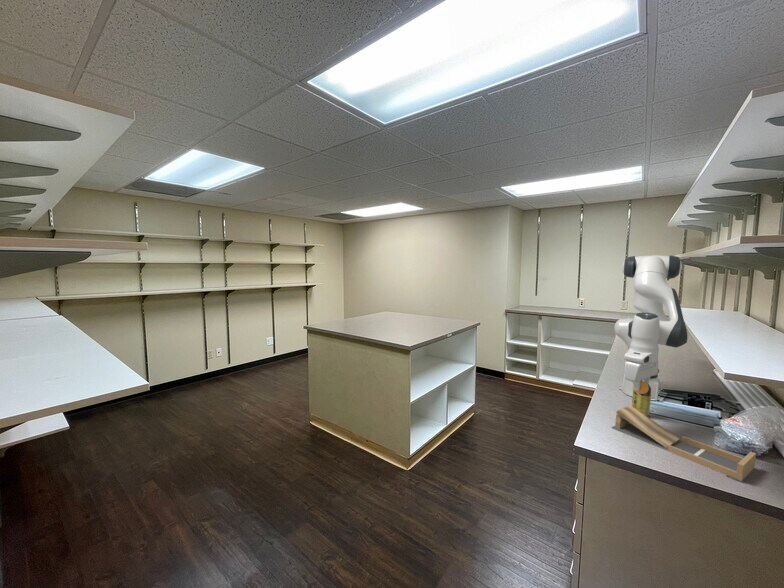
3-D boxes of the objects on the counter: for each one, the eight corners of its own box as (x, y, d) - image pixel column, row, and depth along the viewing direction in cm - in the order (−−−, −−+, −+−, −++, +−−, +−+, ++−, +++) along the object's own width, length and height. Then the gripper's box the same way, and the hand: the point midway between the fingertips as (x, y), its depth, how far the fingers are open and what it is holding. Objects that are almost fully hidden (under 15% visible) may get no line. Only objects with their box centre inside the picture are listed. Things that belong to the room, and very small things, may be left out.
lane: (626, 420, 136) (627, 408, 135) (755, 469, 104) (757, 453, 103) (610, 428, 129) (611, 415, 129) (742, 482, 97) (744, 466, 97)
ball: (636, 389, 130) (636, 377, 130) (650, 393, 126) (651, 381, 125) (630, 392, 128) (630, 381, 127) (645, 397, 123) (645, 385, 123)
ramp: (626, 421, 134) (628, 404, 134) (679, 441, 119) (681, 422, 119) (614, 427, 129) (615, 410, 129) (668, 449, 114) (670, 429, 114)
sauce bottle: (630, 411, 145) (634, 368, 143) (648, 415, 141) (652, 371, 140) (631, 416, 140) (634, 372, 138) (649, 420, 136) (653, 375, 134)
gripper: (645, 349, 133) (643, 381, 135) (621, 355, 123) (619, 390, 124) (664, 352, 128) (661, 386, 129) (641, 360, 117) (638, 396, 119)
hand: (640, 388), depth 127 cm, fingers closed on ball, 5 cm apart
